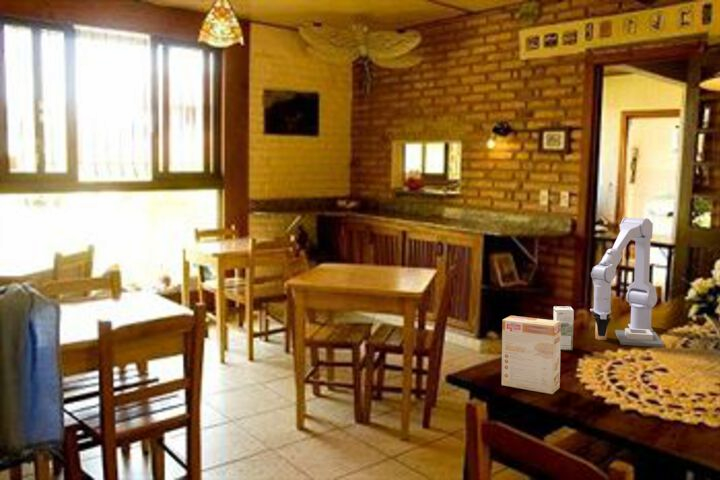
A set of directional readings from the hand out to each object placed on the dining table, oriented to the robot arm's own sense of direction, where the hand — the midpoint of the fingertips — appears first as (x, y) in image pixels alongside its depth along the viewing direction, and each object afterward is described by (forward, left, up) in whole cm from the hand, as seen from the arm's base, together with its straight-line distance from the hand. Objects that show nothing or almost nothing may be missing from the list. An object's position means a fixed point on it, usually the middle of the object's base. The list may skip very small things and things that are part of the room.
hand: (601, 334), depth 235 cm
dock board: (-2, +13, -2) cm, 13 cm away
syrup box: (+17, -14, -2) cm, 22 cm away
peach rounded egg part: (0, 0, -2) cm, 2 cm away
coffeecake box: (+61, -24, -2) cm, 66 cm away
